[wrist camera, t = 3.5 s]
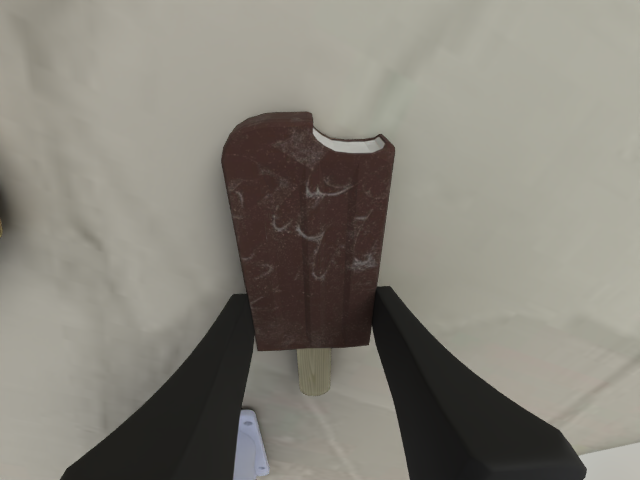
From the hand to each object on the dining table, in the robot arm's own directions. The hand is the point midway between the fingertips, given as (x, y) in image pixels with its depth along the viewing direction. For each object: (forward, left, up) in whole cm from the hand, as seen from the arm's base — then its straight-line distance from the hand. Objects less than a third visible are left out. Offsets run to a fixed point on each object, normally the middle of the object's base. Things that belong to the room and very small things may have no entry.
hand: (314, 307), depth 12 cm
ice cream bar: (0, 0, -2) cm, 2 cm away
